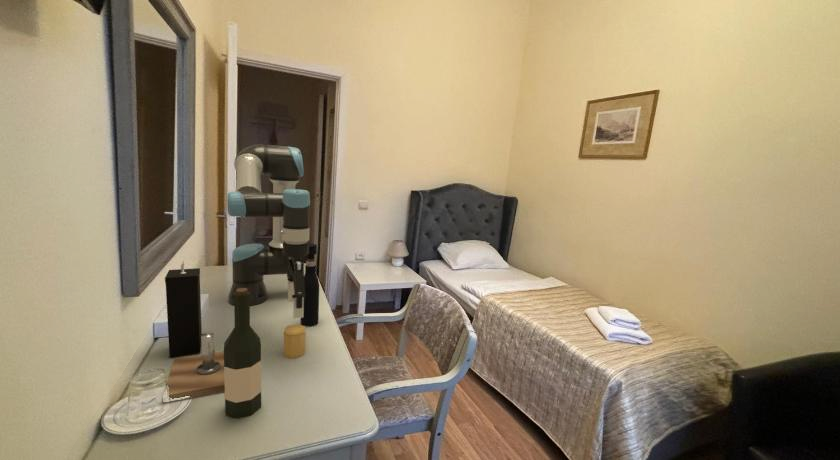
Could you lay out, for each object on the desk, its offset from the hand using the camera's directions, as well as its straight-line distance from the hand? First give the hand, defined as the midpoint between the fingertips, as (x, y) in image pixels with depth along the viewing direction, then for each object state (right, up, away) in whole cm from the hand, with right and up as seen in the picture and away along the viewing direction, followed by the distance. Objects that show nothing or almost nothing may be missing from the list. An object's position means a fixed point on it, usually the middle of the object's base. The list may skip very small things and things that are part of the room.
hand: (295, 309), depth 110 cm
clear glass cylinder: (-19, -14, -12) cm, 27 cm away
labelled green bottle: (-5, -19, -23) cm, 30 cm away
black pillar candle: (-33, -13, 0) cm, 36 cm away
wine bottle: (-3, -11, +24) cm, 26 cm away
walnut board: (-19, -16, -12) cm, 28 cm away
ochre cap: (-1, -14, +3) cm, 15 cm away
